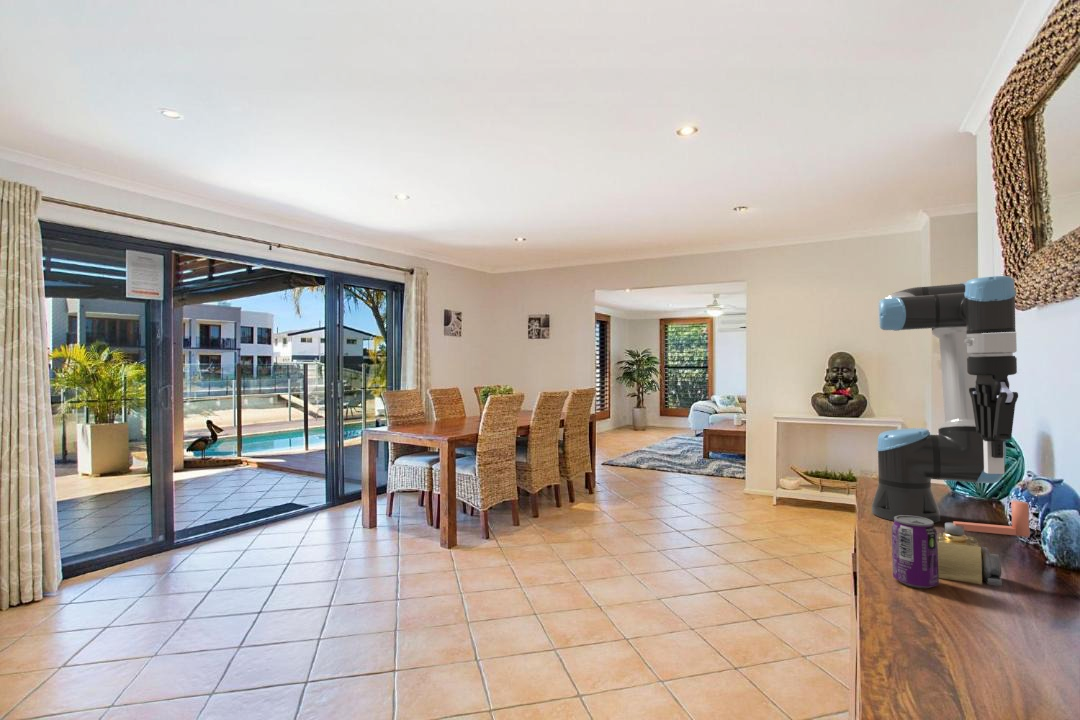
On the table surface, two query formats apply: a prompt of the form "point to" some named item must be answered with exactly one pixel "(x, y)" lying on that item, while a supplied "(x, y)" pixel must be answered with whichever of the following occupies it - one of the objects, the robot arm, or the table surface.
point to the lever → (1018, 525)
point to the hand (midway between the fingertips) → (994, 472)
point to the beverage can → (915, 551)
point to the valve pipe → (966, 560)
